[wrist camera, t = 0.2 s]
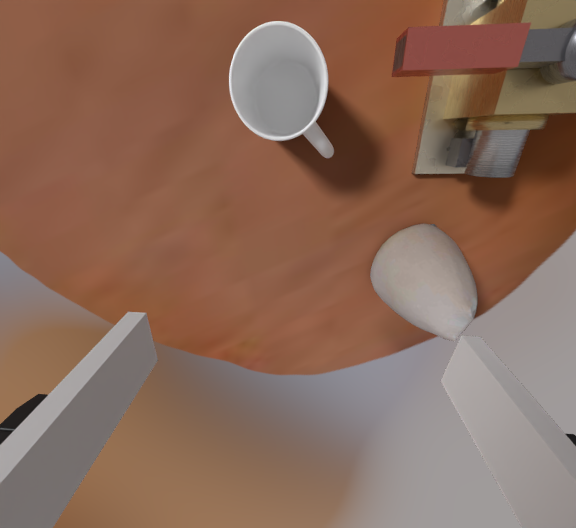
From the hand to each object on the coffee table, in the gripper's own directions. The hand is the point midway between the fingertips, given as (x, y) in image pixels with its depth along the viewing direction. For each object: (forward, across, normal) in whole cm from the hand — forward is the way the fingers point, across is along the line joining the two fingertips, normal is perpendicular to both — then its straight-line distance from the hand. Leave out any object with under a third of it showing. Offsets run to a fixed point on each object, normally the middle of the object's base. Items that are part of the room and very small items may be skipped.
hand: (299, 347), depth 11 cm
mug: (+28, -1, +10) cm, 30 cm away
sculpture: (+28, +17, -9) cm, 34 cm away
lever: (+18, +14, +14) cm, 27 cm away
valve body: (+28, +19, +15) cm, 37 cm away
